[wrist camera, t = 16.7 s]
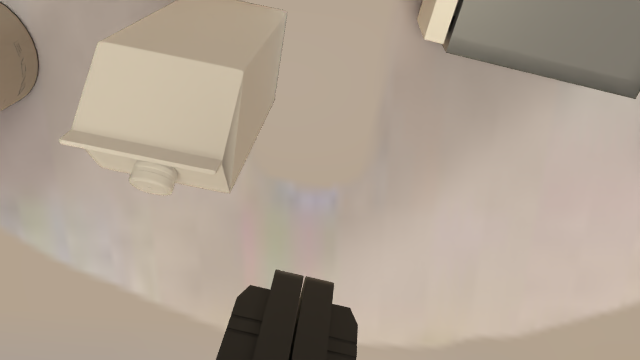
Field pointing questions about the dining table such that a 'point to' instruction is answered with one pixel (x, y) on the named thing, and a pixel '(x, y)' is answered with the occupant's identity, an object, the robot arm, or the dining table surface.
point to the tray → (436, 18)
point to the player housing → (554, 39)
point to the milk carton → (181, 94)
